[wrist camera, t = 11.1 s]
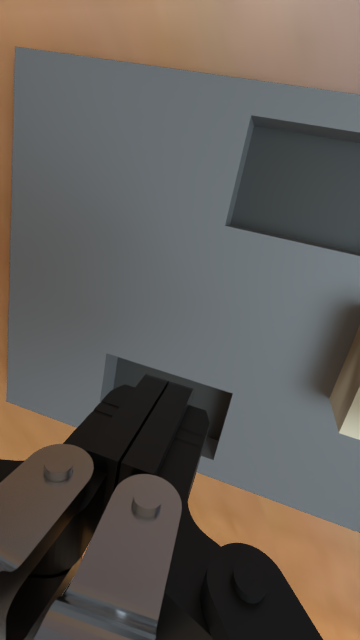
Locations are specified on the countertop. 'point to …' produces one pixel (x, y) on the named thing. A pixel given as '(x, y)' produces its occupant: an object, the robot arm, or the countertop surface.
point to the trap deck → (190, 260)
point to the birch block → (348, 393)
